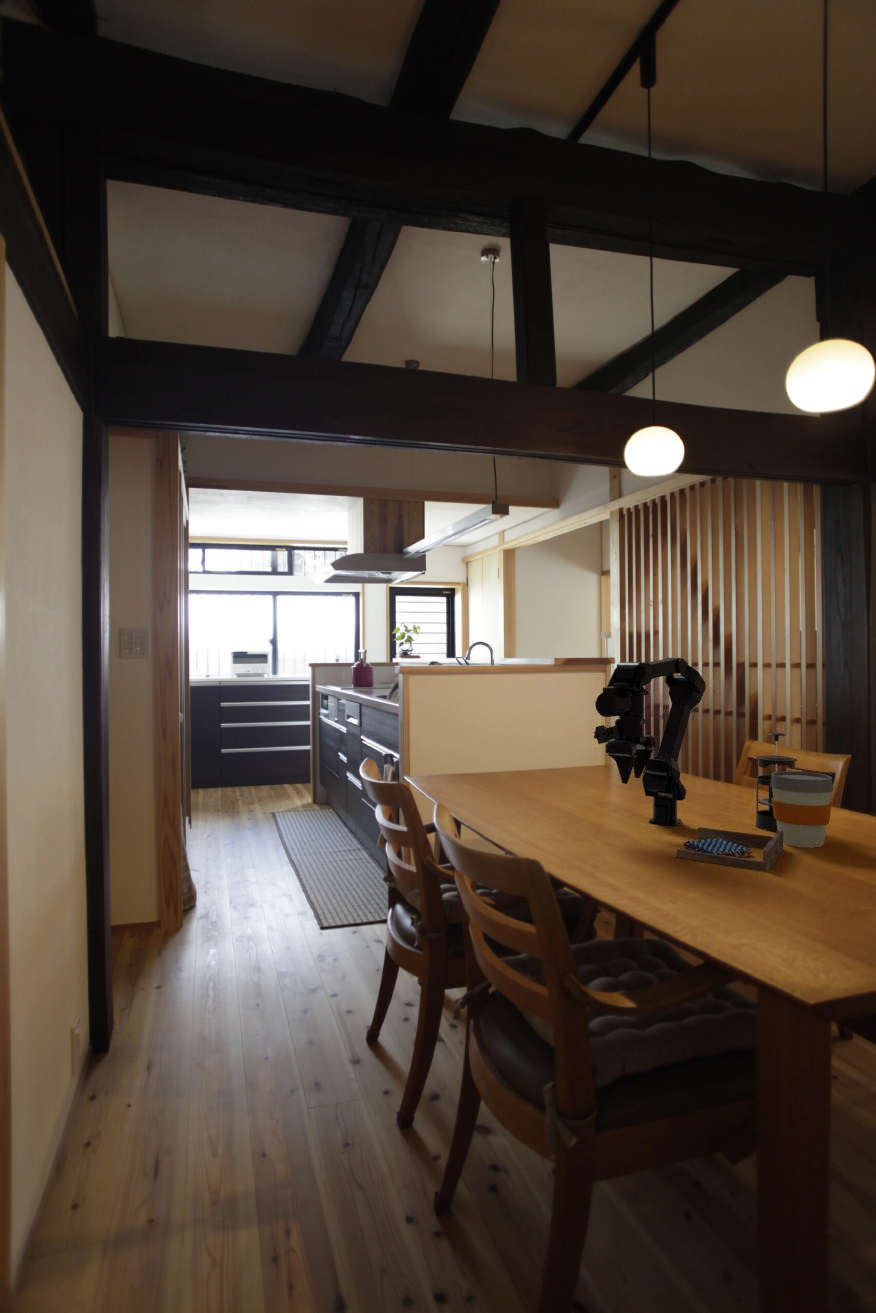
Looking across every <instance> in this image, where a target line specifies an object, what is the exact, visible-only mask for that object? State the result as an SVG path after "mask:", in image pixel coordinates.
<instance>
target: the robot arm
mask: <svg viewBox="0 0 876 1313" xmlns="http://www.w3.org/2000/svg"><path fill="white" fill-rule="evenodd" d="M675 674H676V675H675ZM661 677H665V678H664V683H665V684H666V686H667V687H668V697H669V699H670V702H671V706H670V710H669V713H668V716H667V720H666V723H665V725H664V731H663V734H662V737H661V741H660V745H659V748H658V750H657V751H658V752H657V754H656V756H655V757H654V758H650V757H651V755H652V753H653V751H654V748H655V747H656V738H655V737H654V736H653V735H648V734H645V725H646V724H647V718H645V697H644V696H649V695H650V692H648V690H647V689H645V686H646V685H649V684H651V682H652V680H653V679H656V678H661ZM706 686H707V685H706V681H705V679H704V678H703V677H702V675H701V673H700V672H699V671H698V670H696V669H695V668H693V667H692V666H691V665H689V664H688V663H687V661H686V660H685V659H684V658H682V657H666V658H663V659H658V660H654V661H649V662H643V661H636V662H635V661H620V662H618V663H617V664H616V667H615V668H614V670H613V673H612V675H611V677H610V679H609V682H608V683H607V686H605V687H602V692H601V693H600V694H599V695H597V697H596V700H595V703H594V704H595V705H594V706H595V710H596V711H597V713H598V714H599V715H600V716H602V717H604V718H610V717H611V718H612V717H618V718H616V720H615V721H614V725H612V726H609V727H606V726H605V725H604V724H601V725H598V726H595V730H594V731H593V734H594V735H593V739H596V740H597V744H598V745H602V744H605V743H606V744H605V754H607V756H608V757H610V758H612V760H614V761H615V763H616V766H617V770H618V773H619V777H620V780H621V784H625V785H627V784H628V782H629V780H630V778H631V774H632V771H633V773H634V778H635V779H640V778H641V782H642V786H643V791H644V796H645V797H651V798H652V801H653V802H652V806H653V807H652V808H653V809H652V811H653V812H652V815H653V817H652V818H650V819H648V823H651V824H658V825H667V826H673V827H674V826H676V825H678V824H679V823H681V821H682V818H678V801H684V800H685V799H686V795H687V789H686V788H685V786H684V784H683V783H682V781H681V770H680V767H679V765H678V758H679V755H680V752H681V750H682V749H681V748H682V745H683V741H684V738H685V735H686V730H687V728H688V723H689V719H690V715H691V712H692V710H693V709H694V708H695V707H697V705H699V704H700V703H701V700H702V699H703V696H704V693H705V691H706V689H707V687H706ZM641 776H642V777H641Z"/></svg>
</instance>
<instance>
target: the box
mask: <svg viewBox="0 0 876 1313" xmlns="http://www.w3.org/2000/svg"><path fill="white" fill-rule="evenodd" d="M716 838H718V839H721V838H724V840H728V841H729V842H733V843H734V844H738V845H739V844H740V846H746V845H747V847H756V848H761V847H763V849H762V860H756V859H751V858H749V859H748V858H743V857H734V856H733V857H730V856H723V855H716V854H709V853H702V852H695V851H692V850H690V849H681V848H677V849H676V858H680V859H685V860H691V861H692V860H693V861H699V862H704V863H713V864H719V865H726V866H732V867H738V868H743V869H744V868H746V869H752V870H759V871H765V872H769V871H770V870H771V869H772V867H773V865H774V864H775V862H776V860H777V859H778V858H779V856H780V855H781V853H782V852H783V850H784V844H783V831H781V830H778V831H777V832H776V833H774V835H773V836H771V835H764V834H758V833H757V834H756V833H748V832H741V831H733V830H726V829H725V830H724V829H716V828H710V827H702V826H699V827H698V828H697V840H705V839H716ZM781 851H782V852H781ZM779 854H780V855H779Z"/></svg>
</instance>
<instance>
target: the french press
mask: <svg viewBox="0 0 876 1313" xmlns="http://www.w3.org/2000/svg"><path fill="white" fill-rule="evenodd" d="M766 735H768V736H774V738H773V740H774V741H775V755H769V754H768V755H758V756H756V758H755V759H757V760H758V767H760V768H762V769H764V768H768V767H769V766H771V765H773V766H775V772H778V766H787V767H788V768H789V769H792V770H794V769H796V762H797V761H798V759H797V758H795V757H790V756H784V755H778V742H780V740H779V739H780V737H782V736H783V737H784V736H787V734H786V733H783V732H768V733H767V734H766ZM771 776H772V774H769V775H767V774H764V775H757V776H756V780H755V781H756V784H755V785H756V787H755V788H756V790H755V791H756V794H755V795H756V801H755V802H756V806H755V808H756V809H755V810H756V811H755V812H756V814H755V816H756V818H755V819H756V822H754V823H755V824H754V825H755V827H756V828H757V827H758V829H760V828H761V829H760V830H763V829H766V830H765V831H768V830H772V831H771V832H775V831H778V829H777V821H776V819H775V818H774V813H773V806H772V798H773V791H772V787H771V786H770V785H771ZM759 785H763V786H768V797H761V798H759ZM759 804H760V805H764V806H768V809H761V810H759Z"/></svg>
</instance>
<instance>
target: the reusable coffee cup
mask: <svg viewBox="0 0 876 1313" xmlns="http://www.w3.org/2000/svg"><path fill="white" fill-rule="evenodd" d="M771 775H772V776H771V785H770V786H771V787H772V791H773V798H772V806H773V813H774V818H775V819H776V821H777V829H778V830H781V831H783V843H784V844H783V845H786V844H787V846H790V845H791V847H795V846H797V847H796V848H802V847H809V848H808V849H815V848H814V847H819V848H822V847H821V846H823V845H825V838H826V837H825V836H826V831H827V825H829V824H830V821H831V820H830V818H831V812H832V802H831V797H832V792H834V786H833V778H832V776H830V775H827V774H823V773H818V772H807V771H795V770H793V771H792V770H790V771H789V770H788V771H787V770H785V771H777V772H776V771H774V772H772V773H771ZM823 847H824V846H823Z"/></svg>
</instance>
